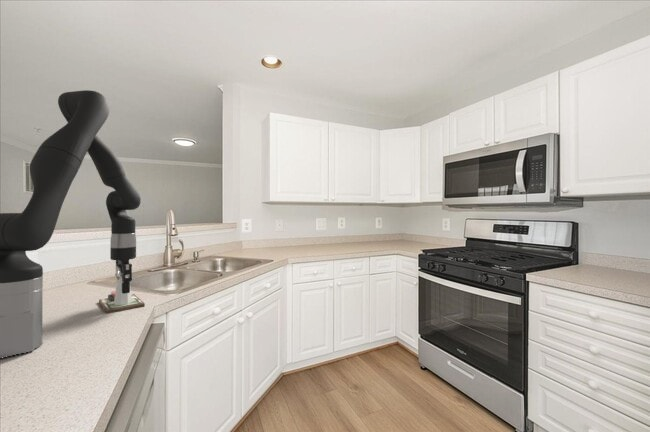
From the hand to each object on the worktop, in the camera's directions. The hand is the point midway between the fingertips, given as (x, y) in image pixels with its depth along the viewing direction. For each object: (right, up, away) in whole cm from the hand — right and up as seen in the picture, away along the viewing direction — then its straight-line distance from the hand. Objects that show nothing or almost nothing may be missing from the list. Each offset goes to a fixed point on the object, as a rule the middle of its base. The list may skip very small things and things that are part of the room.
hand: (123, 290), depth 100 cm
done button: (-6, -4, +6) cm, 9 cm away
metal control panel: (-2, -6, +3) cm, 7 cm away
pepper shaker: (0, -5, 0) cm, 5 cm away
